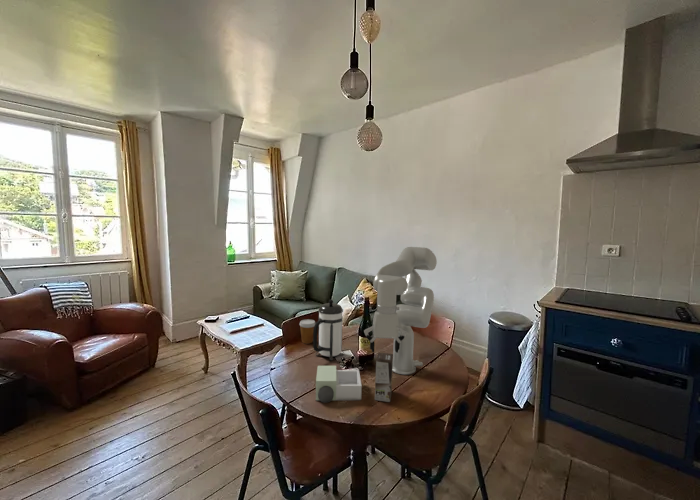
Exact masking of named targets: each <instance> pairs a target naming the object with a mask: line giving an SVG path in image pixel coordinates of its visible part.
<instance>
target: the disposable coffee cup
mask: <svg viewBox="0 0 700 500" xmlns="http://www.w3.org/2000/svg"><path fill="white" fill-rule="evenodd" d="M315 324H316V321H315V320H314V319H309V318H308V319H302V320H300V321H299V324H298V325H299V326H300V335H301V342H302V344H313V330H314V326H315Z"/></svg>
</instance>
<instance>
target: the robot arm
mask: <svg viewBox="0 0 700 500" xmlns="http://www.w3.org/2000/svg"><path fill="white" fill-rule="evenodd" d="M437 263H438V262H437V257H436V255H435V253H434V251H432V250H431V249H429V248H428V247H422V246H419V247H418V246H406V247H404V248H403V249H402V251H401V252H400V254H399V256H398V257H397V259H396V260H395V261H393V262H391V263H388V264H386V265H384V266H382V267H381V268H380V269H379V270H378V271H377V273H376V275H375V276H374V279H373V281H372V284H373V285H372V286H373V288H374V290H375V291H376V292H377V294H376V295H377V296H376V297H377V298H376V310H375V312H374V313H373V319H372V326H370V327H368V328H365V329H363V333H364V335H365V337H366V338H367V340H368V341H369V350H371V352H372V353H375V340H376V339H393V349H392V350H393V351H392V354H393V366H392V373H395V374H398V375H405V376H407V375H412V374H414V373H415V372H416V370H417V368H416V367H423V365H424V363H423V362H422V361H419V359H418V360H414V342H415V341H414V340H415V333H414V331H413V329H412V327H413V328H421V329H426V328H427V327H428V326H429V325H430V321H431V316H432V311H433V306H434V298H435V297H434V296H435V294H434V291H433V290H432V288H429V287H425V286H424V287H423V286H422V284H423V283H422V281H423V280H422V278H421V276H420V274H419V273H418V272H417V271H416V270H421V271H434V270H435V269H436V266H437ZM397 296H400V301H401V303H402V304H400V303H399V304H397ZM370 332H371V333H372V335H371V336H370V335H369V333H370Z"/></svg>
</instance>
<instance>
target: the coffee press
mask: <svg viewBox="0 0 700 500" xmlns="http://www.w3.org/2000/svg"><path fill="white" fill-rule="evenodd" d="M343 312H344V309H343V307H342V306H341V305H340V304H338V303H334V301H333V299H329V300H328V303H323V304H321V305H320V306H319V308H318V320H317V321H315V323H316V324H315V326H314V330H313V342H312V345H313V346H312V348H313V350H314V352H315V356H316V357H319V356H320V355H321V356H323V357H328V358H329V362H333V358H334V357H336V356H339V355H341V354H343V353H344V351H343V349H342V348H343ZM344 354H345V353H344Z"/></svg>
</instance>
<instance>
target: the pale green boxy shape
mask: <svg viewBox="0 0 700 500" xmlns="http://www.w3.org/2000/svg"><path fill="white" fill-rule="evenodd" d="M361 400H362V379H361V375H360V370H359V369H344V370H343V369H337V365H317V369H316V377H315V401H320V402H321V403H325V404H328V403H330V402H331V401H361Z"/></svg>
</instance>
